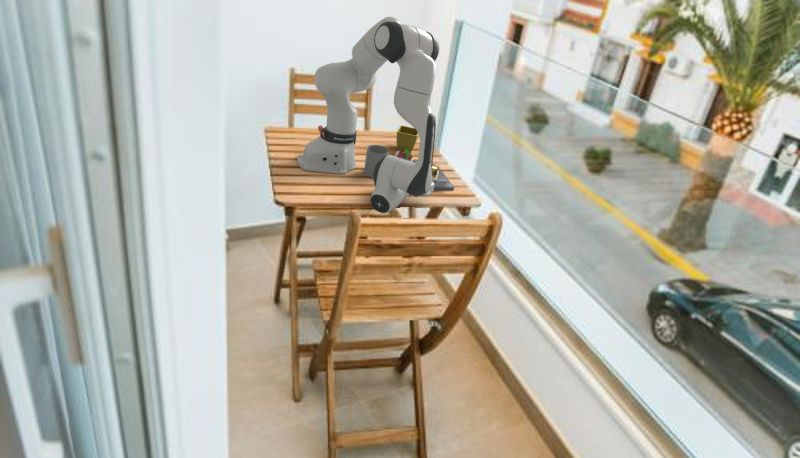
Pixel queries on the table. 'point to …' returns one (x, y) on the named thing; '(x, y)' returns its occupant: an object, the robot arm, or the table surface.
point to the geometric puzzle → (404, 155)
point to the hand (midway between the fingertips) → (413, 173)
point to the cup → (374, 158)
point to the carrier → (441, 182)
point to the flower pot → (406, 138)
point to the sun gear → (435, 169)
